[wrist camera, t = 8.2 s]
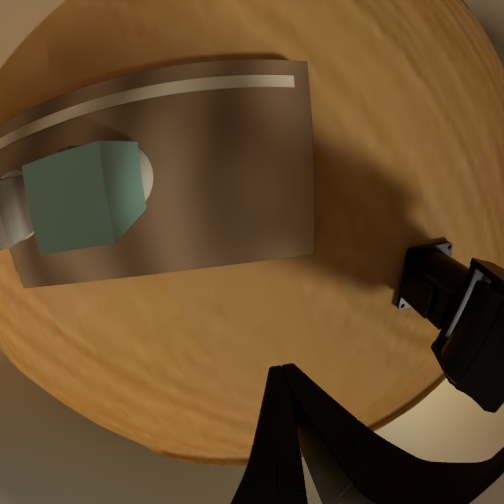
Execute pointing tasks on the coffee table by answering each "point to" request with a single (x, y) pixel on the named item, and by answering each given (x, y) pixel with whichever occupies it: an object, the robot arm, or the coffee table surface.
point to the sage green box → (84, 195)
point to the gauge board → (178, 168)
